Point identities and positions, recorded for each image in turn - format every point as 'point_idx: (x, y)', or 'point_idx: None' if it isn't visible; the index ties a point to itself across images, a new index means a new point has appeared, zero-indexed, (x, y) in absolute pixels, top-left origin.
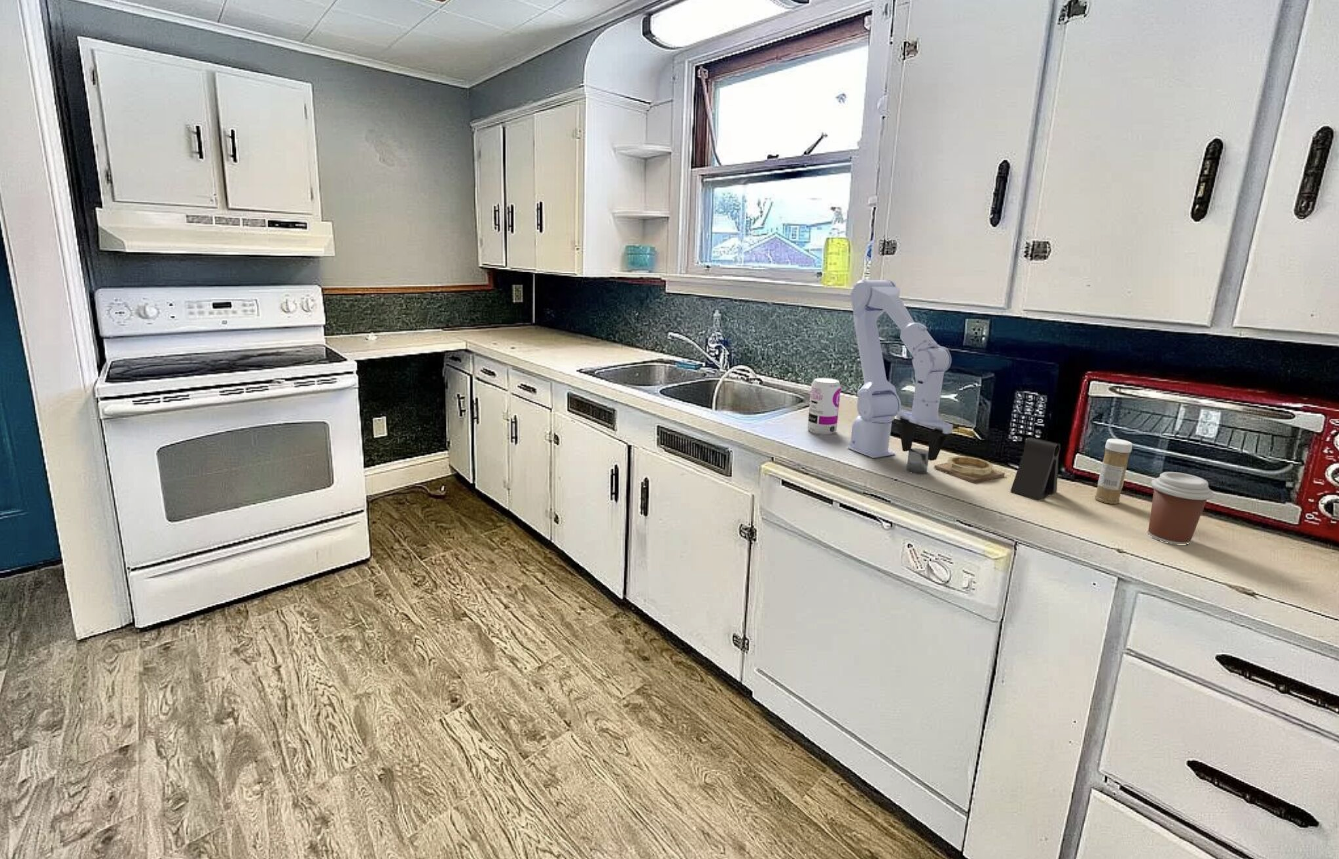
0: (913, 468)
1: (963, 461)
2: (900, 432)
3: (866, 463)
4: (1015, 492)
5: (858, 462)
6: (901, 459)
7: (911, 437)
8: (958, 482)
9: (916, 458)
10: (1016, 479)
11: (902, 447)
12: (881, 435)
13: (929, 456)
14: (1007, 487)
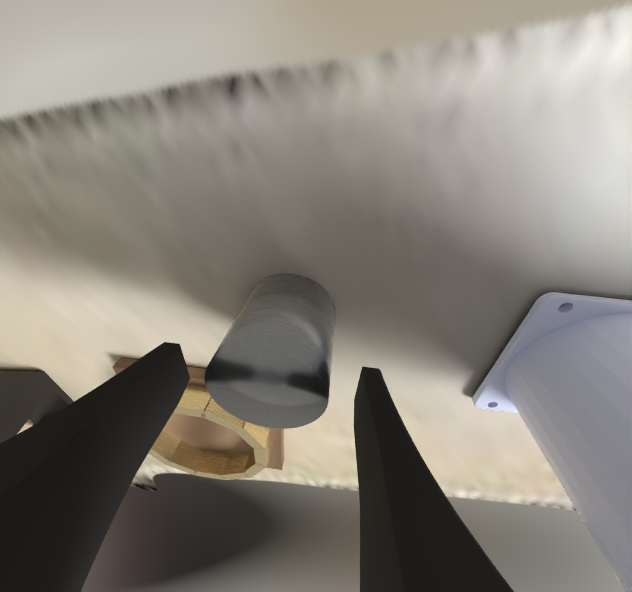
0: (269, 288)
1: (253, 454)
2: (438, 523)
3: (549, 184)
4: (25, 372)
5: (616, 145)
6: (422, 375)
7: (362, 494)
8: (134, 329)
9: (242, 327)
10: (1, 412)
11: (381, 384)
12: (628, 457)
13: (149, 357)
14: (83, 391)
